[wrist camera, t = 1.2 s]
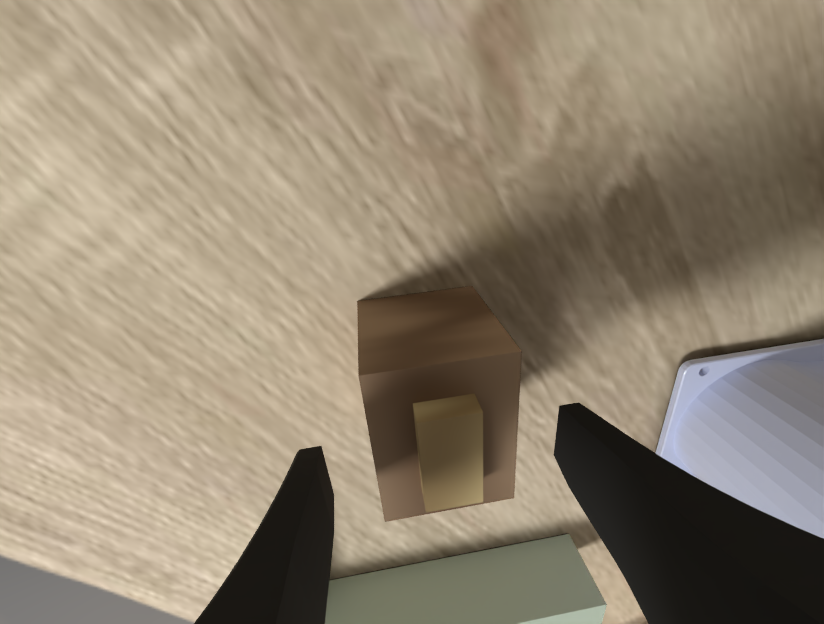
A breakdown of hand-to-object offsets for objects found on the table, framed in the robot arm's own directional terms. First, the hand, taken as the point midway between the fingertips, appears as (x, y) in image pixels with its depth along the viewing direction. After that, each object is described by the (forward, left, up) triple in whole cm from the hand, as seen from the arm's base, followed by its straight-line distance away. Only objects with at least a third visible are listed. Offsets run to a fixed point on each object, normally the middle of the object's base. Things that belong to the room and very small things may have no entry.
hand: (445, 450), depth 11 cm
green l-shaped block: (0, +15, -5) cm, 16 cm away
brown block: (0, 0, -5) cm, 5 cm away
